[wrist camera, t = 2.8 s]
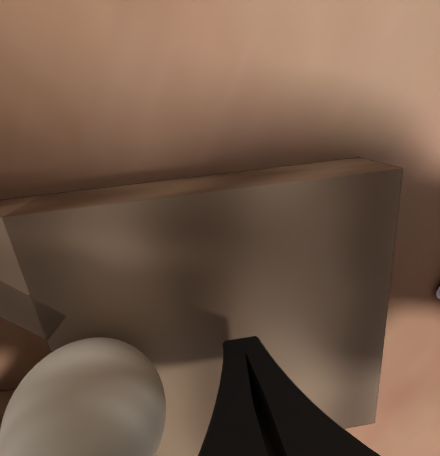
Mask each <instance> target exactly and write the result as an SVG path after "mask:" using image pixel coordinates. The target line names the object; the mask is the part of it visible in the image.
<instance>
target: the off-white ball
mask: <svg viewBox="0 0 440 456" xmlns="http://www.w3.org/2000/svg"><path fill="white" fill-rule="evenodd" d="M165 420H166V399H165V392H164V388H163V384H162V381H161V379H160V376H159V374H158V372H157V370H156V368H155V367H154V365H153V364H152V362H151V361H150V360H149V359H148V358H147V357H146V356H145V355H144V354H143V353H142V352H141V351H140V350H138V349H137V348H136V347H134V346H132V345H130V344H128V343H126V342H123V341H120V340H117V339H112V338H105V337H95V338H87V339H82V340H78V341H75V342H72V343H69V344H67V345H64V346H62V347H60V348H58V349H57V350H55V351H53V352H52V353H50V354H48V355H47V356H46V357H45V358H43V359H42V360H41V361H40V362H38V363H37V364H36V365H35V366H34V367H33V368H32V369H31V370H30V371H29V372H28V374H27V375H26V376H25V377H24V378H23V380H22V381H21V382H20V384H19V385H18V387H17V388H16V390H15V391H14V393H13V395H12V397H11V399H10V401H9V403H8V405H7V408H6V410H5V413H4V416H3V419H2V424H1V428H0V456H155V455H156V452H157V450H158V447H159V445H160V443H161V439H162V435H163V431H164V427H165Z"/></svg>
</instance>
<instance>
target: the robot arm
mask: <svg viewBox="0 0 440 456" xmlns="http://www.w3.org/2000/svg"><path fill="white" fill-rule="evenodd" d="M436 295H437V298H439V299H440V287H439V288H438V290H437V293H436ZM198 456H380V455H379V454H377V453H376V452H374V451H373V450H371V449H370V448H368V447H367V446H366V445H364V444H363V443H362V442H360V441H359V440H358V439H356V438H355V437H354V436H352V435H351V434H350V433H348V432H347V431H346V430H345V429H343V428H342V427H341V426H339V425H338V424H337V423H336V422H335V421H333V420H332V419H331V418H330V417H329V416H327V415H326V414H325V413H324V412H323V411H322V410H321V409H320V408H319V407H317V406H316V405H315V404H314V403H313V402H312V401H311V400H310V399H309V398H308V397H307V396H306V395H305V394H304V393H303V392H302V391H301V390H300V389H299V388H298V387H297V386H296V385H295V384H294V383H293V381H292V380H291V379H290V378H289V377H288V376H287V375H286V373H285V372H284V371H283V370H282V369H281V368H280V366H279V365H278V364H277V363H276V361H275V360H274V359H273V358H272V356H271V355H270V354H269V352H268V351H267V350H266V348H265V347H264V345H263V344H262V342H261V341H260V339H259V338H258V337H257V336H252V337H245V338H239V339H233V340H226V341H224V343H223V365H222V372H221V379H220V385H219V389H218V394H217V398H216V402H215V406H214V410H213V413H212V417H211V420H210V423H209V426H208V430H207V433H206V435H205V438H204V441H203V444H202V446H201V449H200V452H199V454H198Z"/></svg>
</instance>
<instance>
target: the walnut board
mask: <svg viewBox="0 0 440 456" xmlns="http://www.w3.org/2000/svg"><path fill="white" fill-rule="evenodd" d="M402 174H403V168H400V167H396V166H392V165H388V164H384V163H380V162H376V161H372V160H368V159H364V158H360V157H359V158H350V159H342V160H334V161H325V162H317V163H308V164H300V165H291V166H283V167H275V168H266V169H258V170H249V171H241V172H233V173H224V174H216V175H207V176H199V177H190V178H182V179H174V180H165V181H157V182H148V183H140V184H131V185H123V186H115V187H106V188H98V189H89V190H81V191H72V192H64V193H56V194H47V195H39V196H30V197H22V198H13V199H5V200H0V318H2V319H4V320H6V321H9V322H11V323H13V324H15V325H17V326H19V327H21V328H23V329H25V330H27V331H29V332H31V333H33V334H35V335H37V336H39V337H41V338H43V339H45V340H47V343H48V346H49V348H50V351H51V353H52V352H53V351H55V350H57V349H58V348H60V347H62V346H64V345H67V344H69V343H72V342H75V341H78V340H82V339H87V338H95V337H105V338H112V339H117V340H120V341H123V342H126V343H128V344H130V345H132V346H134V347H136V348H137V349H138V350H140V351H141V352H142V353H143V354H144V355H145V356H146V357H147V358H148V359H149V360H150V361H151V362H152V364H153V365H154V367H155V368H156V370H157V372H158V374H159V376H160V379H161V381H162V384H163V388H164V392H165V399H166V420H165V427H164V431H163V435H162V439H161V443H160V445H159V447H158V450H157V452H156V455H155V456H197V455H198V454H199V452H200V449H201V446H202V444H203V441H204V438H205V435H206V433H207V430H208V426H209V423H210V420H211V417H212V413H213V410H214V406H215V402H216V398H217V394H218V389H219V385H220V379H221V372H222V365H223V343H224V341H226V340H233V339H239V338H245V337H252V336H257V337H258V338H259V339H260V341H261V342H262V344H263V345H264V347H265V348H266V350H267V351H268V352H269V354H270V355H271V356H272V358H273V359H274V360H275V361H276V363H277V364H278V365H279V366H280V368H281V369H282V370H283V371H284V372H285V373H286V375H287V376H288V377H289V378H290V379H291V380H292V381H293V383H294V384H295V385H296V386H297V387H298V388H299V389H300V390H301V391H302V392H303V393H304V394H305V395H306V396H307V397H308V398H309V399H310V400H311V401H312V402H313V403H314V404H315V405H316V406H317V407H319V408H320V409H321V410H322V411H323V412H324V413H325V414H326V415H327V416H329V417H330V418H331V419H332V420H333V421H335V422H336V423H337V424H338V425H339V426H341V427H342V428H343V429H346V428H351V427H357V426H362V425H368V424H373V423H375V418H376V409H377V400H378V391H379V382H380V373H381V364H382V355H383V346H384V337H385V328H386V319H387V310H388V301H389V291H390V282H391V273H392V264H393V255H394V246H395V237H396V228H397V219H398V210H399V201H400V192H401V183H402ZM14 391H15V390H10V391H4V392H0V428H1V424H2V419H3V416H4V413H5V410H6V408H7V405H8V403H9V401H10V399H11V397H12V395H13V393H14Z"/></svg>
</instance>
